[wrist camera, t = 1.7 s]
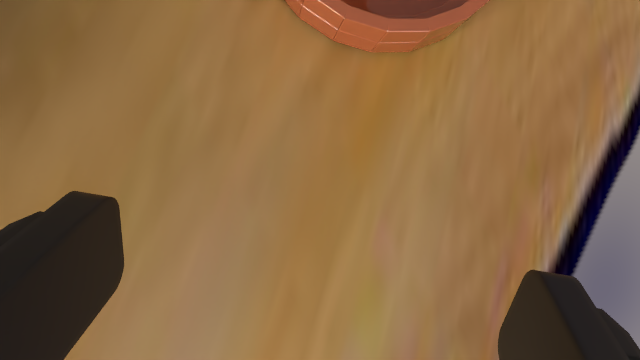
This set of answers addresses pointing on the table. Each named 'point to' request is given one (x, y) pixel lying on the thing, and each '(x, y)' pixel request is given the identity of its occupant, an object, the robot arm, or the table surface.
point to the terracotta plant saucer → (386, 21)
